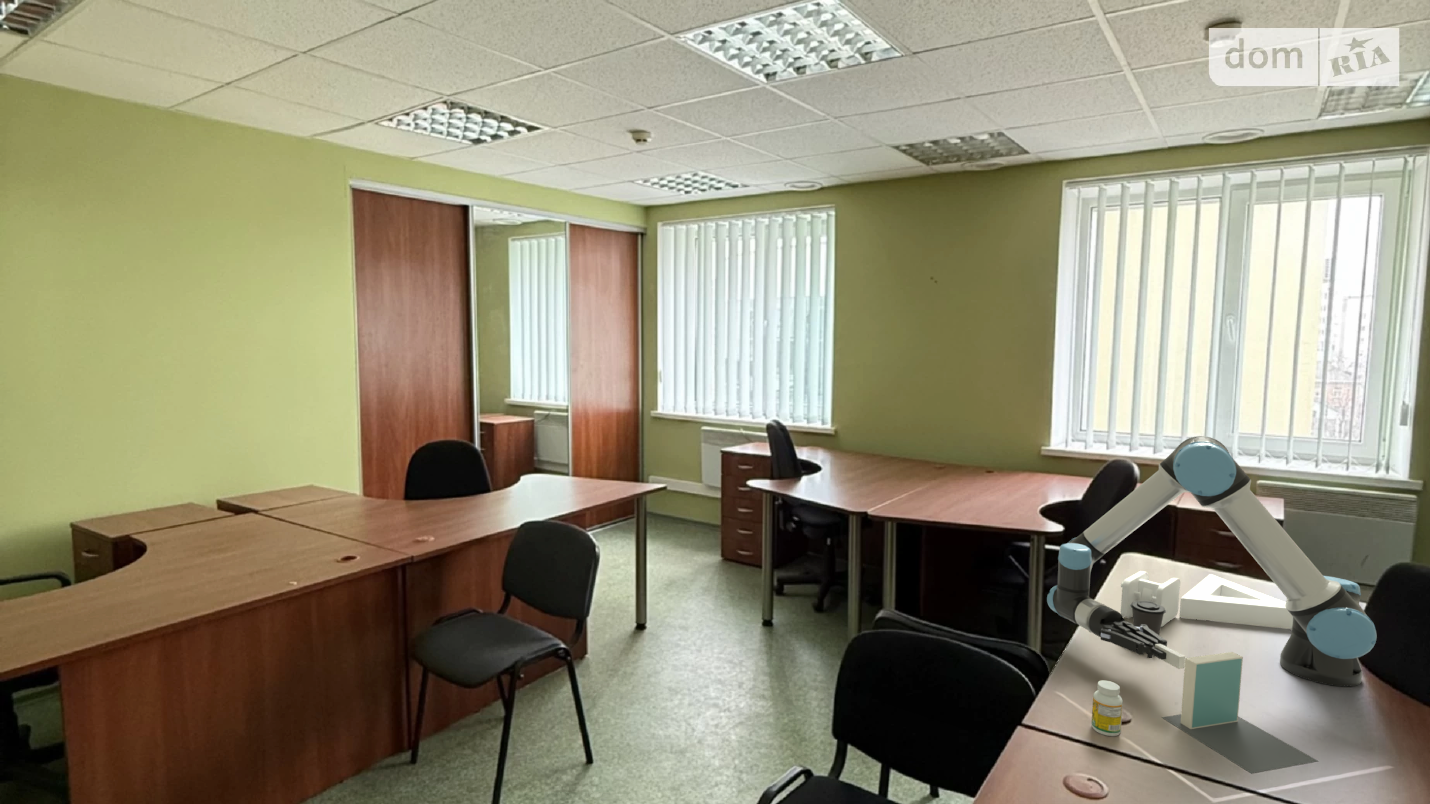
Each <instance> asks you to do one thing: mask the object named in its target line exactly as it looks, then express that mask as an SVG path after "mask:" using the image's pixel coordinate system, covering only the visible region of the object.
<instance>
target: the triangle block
mask: <svg viewBox="0 0 1430 804" xmlns="http://www.w3.org/2000/svg"><path fill="white" fill-rule="evenodd" d="M1285 604H1286V601H1284V600H1282V599H1279V598H1275V597H1273V596H1271V595H1268V594H1265V593H1263V592H1260V591H1258V590H1255V589H1252V588H1249V587H1247V586H1243V585H1241V584H1240V583H1236V582H1234V581H1230V580H1228V579H1226V578H1223V577H1219V576H1218V575H1215V574H1212V573H1209V574H1208V575H1207V576H1205V578H1203V579H1202V580H1201V581H1199V582H1198V583H1197V584H1196V585H1195V586H1194V587H1192V588H1191V589H1190V590H1189V591H1187V592H1186V593H1185V594H1183V596H1182V597H1181V596H1180V601H1179V617H1181V618H1180V619H1186V620H1187V619H1188V620H1196V619H1197V620H1198V621H1206V620H1210V621H1209V622H1216V623H1225V624H1236V625H1237V624H1238V625H1245V626H1247V625H1248V626H1256V627H1263V628H1264V627H1265V628H1266V627H1267V628H1276V629H1283V630H1285V629H1287V630H1292V624H1293V616H1292V615H1291V614H1290V612H1289V611H1288V610H1287V609H1286V607H1285Z"/></svg>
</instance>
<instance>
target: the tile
mask: <svg viewBox="0 0 1430 804" xmlns="http://www.w3.org/2000/svg"><path fill="white" fill-rule="evenodd" d="M1243 660H1244V656H1242V655H1239V654H1237V653H1235V652H1233V651H1228V652H1222V653H1216V654H1215V653H1213V654H1207V655H1206V654H1205V655H1199V656H1192V657H1185V667H1184V673H1183V685H1182V686H1183V687H1182V697H1181V698H1182V699H1181V700H1182V701H1181V711H1180V712H1181V713H1180V714H1181V724H1183V725H1185V726H1186V727H1188V728H1190V729H1195V728H1201V727H1207V726H1213V725H1219V724H1225V723H1232V722H1238V717H1239V709H1240V697H1241V686H1242V685H1241V683H1242V674H1243V673H1242V671H1243V662H1244V661H1243Z"/></svg>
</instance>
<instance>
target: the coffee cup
mask: <svg viewBox="0 0 1430 804" xmlns="http://www.w3.org/2000/svg"><path fill="white" fill-rule="evenodd" d="M1130 606H1131V608H1132V614H1133V616H1132V624H1134V626H1136V627H1140V626H1141V624H1145V625H1147V626H1148V628H1149V629H1151V630H1152V631H1153V632H1155V633H1156V634H1158V635H1159V636H1160V633H1161V629H1162V627H1161V624H1162V619H1163V614H1164V613H1166V610H1165V608H1164V607H1163V606H1161V605H1158V604H1155V603H1152V602H1148V601H1135V602H1132V604H1131V605H1130Z"/></svg>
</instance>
